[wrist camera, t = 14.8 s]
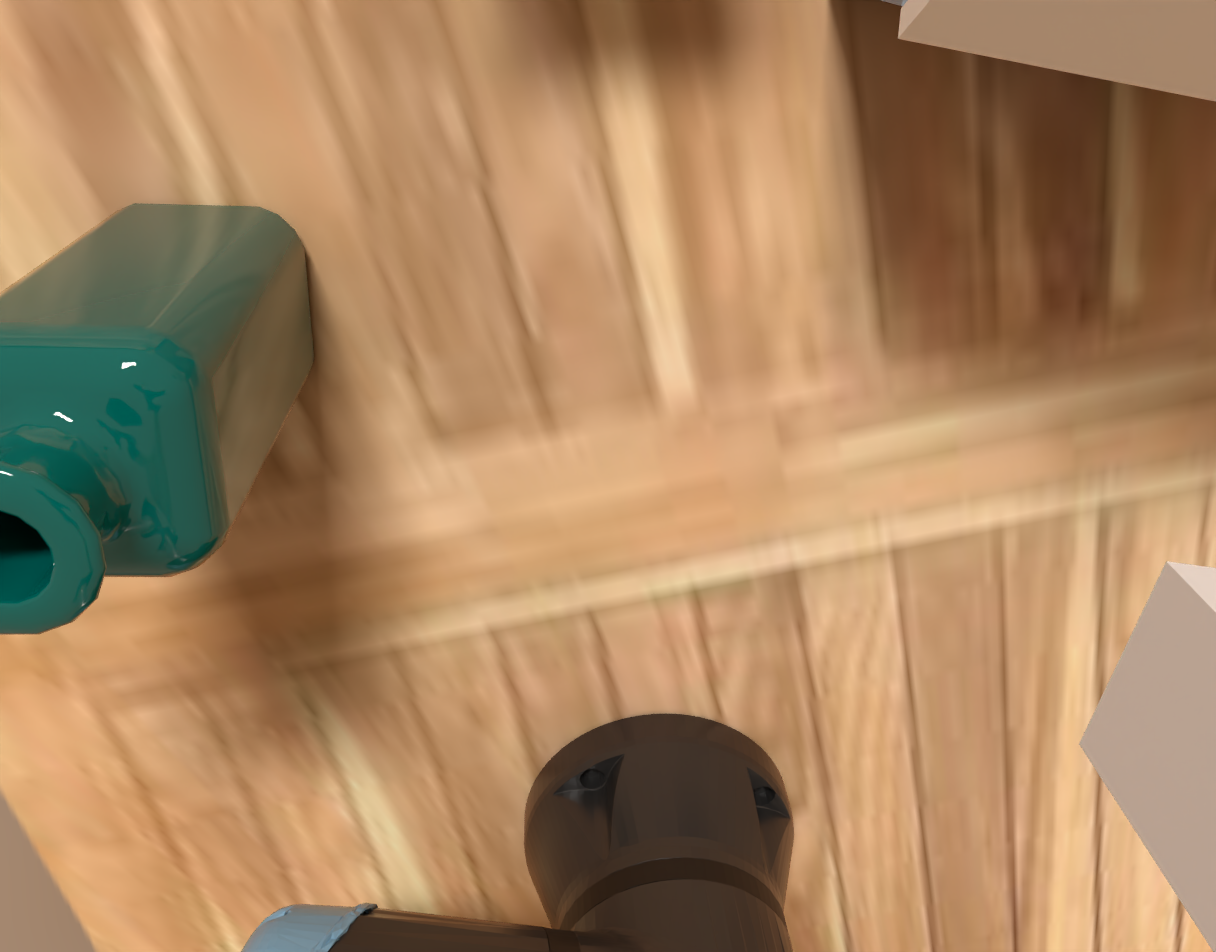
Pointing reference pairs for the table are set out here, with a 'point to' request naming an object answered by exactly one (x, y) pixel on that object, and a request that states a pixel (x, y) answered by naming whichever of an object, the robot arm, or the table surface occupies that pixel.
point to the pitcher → (141, 398)
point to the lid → (1081, 37)
